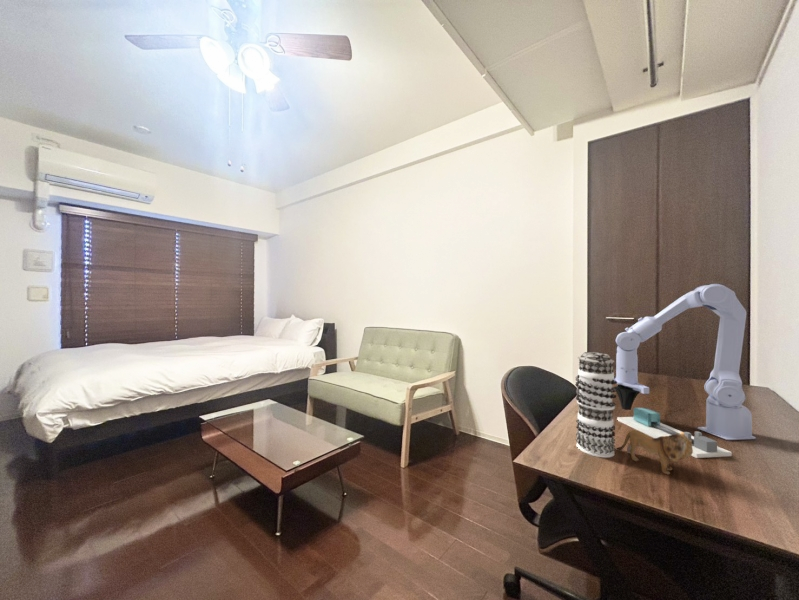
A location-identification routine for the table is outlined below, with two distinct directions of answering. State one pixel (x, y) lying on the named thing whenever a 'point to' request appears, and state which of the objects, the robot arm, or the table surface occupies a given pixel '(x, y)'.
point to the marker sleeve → (646, 416)
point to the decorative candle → (595, 404)
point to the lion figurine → (660, 447)
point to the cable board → (699, 443)
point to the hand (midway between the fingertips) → (626, 409)
